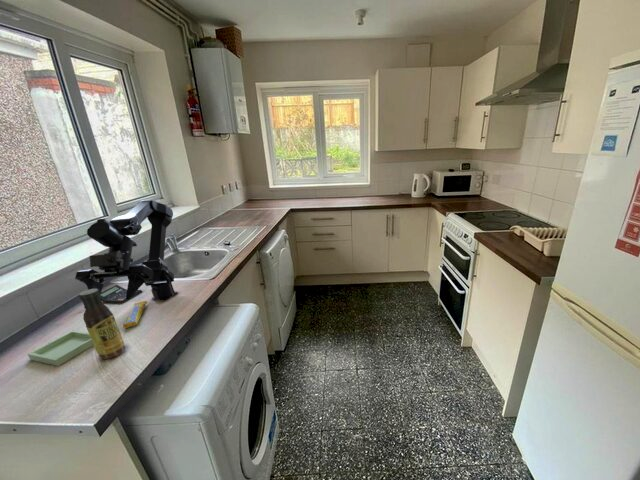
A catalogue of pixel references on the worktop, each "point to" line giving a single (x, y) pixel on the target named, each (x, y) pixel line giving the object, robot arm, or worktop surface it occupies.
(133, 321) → the candy bar
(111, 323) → the sauce bottle
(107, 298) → the calculator
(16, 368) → the worktop surface
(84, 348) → the tray
